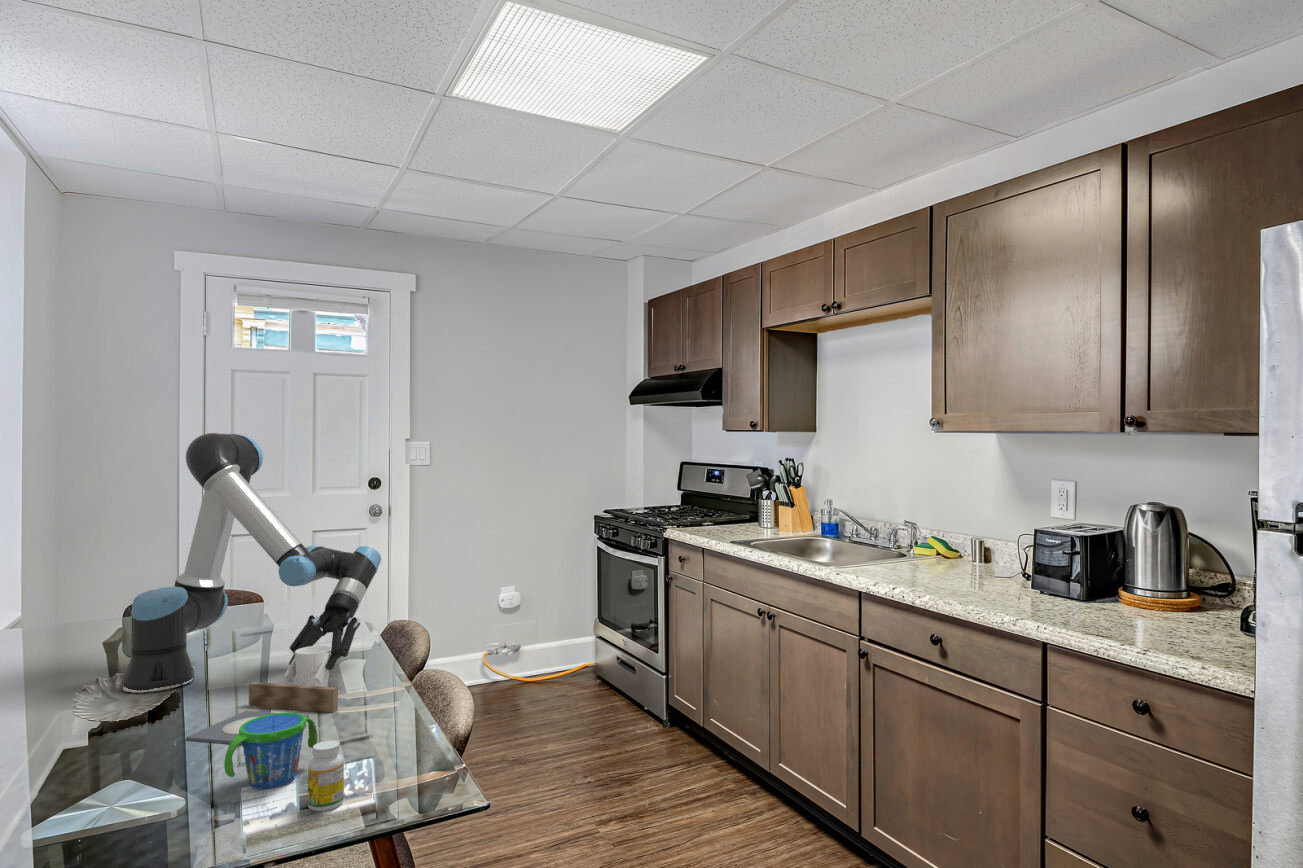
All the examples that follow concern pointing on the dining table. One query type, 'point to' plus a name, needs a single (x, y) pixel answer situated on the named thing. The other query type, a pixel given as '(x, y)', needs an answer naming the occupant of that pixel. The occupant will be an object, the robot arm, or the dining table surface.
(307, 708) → the low wall
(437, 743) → the dining table surface
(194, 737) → the slate mat
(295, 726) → the snack cup
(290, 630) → the dining table surface
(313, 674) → the white cup
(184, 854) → the dining table surface
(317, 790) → the supplement bottle
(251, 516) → the robot arm
